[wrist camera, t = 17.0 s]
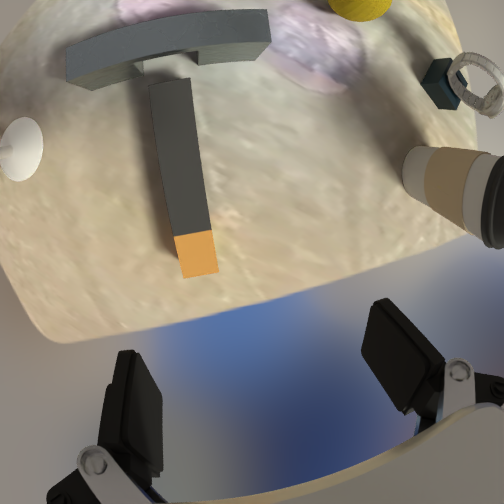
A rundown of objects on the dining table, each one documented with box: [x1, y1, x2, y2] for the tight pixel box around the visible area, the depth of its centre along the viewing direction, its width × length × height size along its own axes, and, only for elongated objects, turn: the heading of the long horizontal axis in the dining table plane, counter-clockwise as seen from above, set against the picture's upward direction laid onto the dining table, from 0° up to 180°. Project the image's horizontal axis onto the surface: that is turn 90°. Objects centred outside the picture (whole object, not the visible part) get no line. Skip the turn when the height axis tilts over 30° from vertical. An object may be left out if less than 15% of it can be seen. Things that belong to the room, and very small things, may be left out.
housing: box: [66, 9, 272, 91], centre depth 16 cm, size 3×15×6 cm, turn 96°
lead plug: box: [149, 78, 219, 278], centre depth 22 cm, size 16×3×3 cm, turn 6°
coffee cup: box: [402, 146, 504, 249], centre depth 21 cm, size 9×9×15 cm
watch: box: [421, 52, 504, 119], centre depth 18 cm, size 6×8×11 cm
